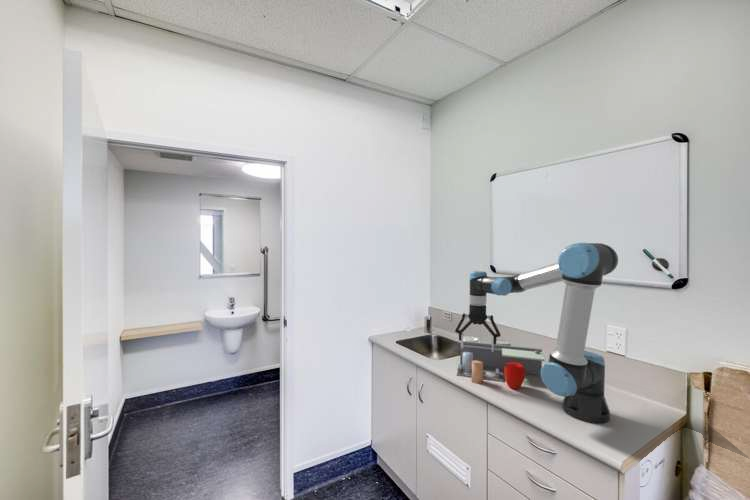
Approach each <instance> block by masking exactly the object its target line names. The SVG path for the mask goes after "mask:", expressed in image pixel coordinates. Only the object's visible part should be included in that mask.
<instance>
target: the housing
mask: <svg viewBox="0 0 750 500" xmlns="http://www.w3.org/2000/svg"><path fill="white" fill-rule="evenodd" d="M459 348H460V350H459V351H460V352H459V354H460V358H459V359H460V361H459V364H458V365H457V373H456V376H459V377H465V378H472V361H475V360H477V361H481V362H483V380H486V381H487V380H488V381H495V382H505V380H504V379H505V375H504V367H505V364H507V363H511V362H515V363H519V364H521V365H523V366H524V368H525V374H530V375H539V376H541V368H542V367H543V361H538V360H529V359H520V358H511V357H502V348H505V349H514V350H524V351H534V352H535V350H539V351H540V352H541V353H542V355H543V349H542V348H536V347H525V346H518V345H517V346H516V345H515V346H514V345H511V346H508V345H498V344H496V345H495V344H494V346H493V352H492V343H488V342H487V343H486V342H482V343H480V342H479V341H478V342H468V341H463V349H462V348H461V344H460V345H459ZM543 356H544V355H543Z"/></svg>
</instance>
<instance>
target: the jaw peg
mask: <svg viewBox="0 0 750 500" xmlns="http://www.w3.org/2000/svg"><path fill="white" fill-rule="evenodd" d="M483 380H484V379H483V362H481V361H477V360H475V361H472V377H471V382H472V383H474V384H479V385H481V384H483V383H484V381H483Z"/></svg>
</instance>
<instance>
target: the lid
mask: <svg viewBox="0 0 750 500" xmlns="http://www.w3.org/2000/svg"><path fill="white" fill-rule="evenodd" d="M542 354H543V352H542V353H541V352H540V351H539V350H535V352H534V351H524V350H514V349H505V348H502V357H511V358H520V359H529V360H538V361H542V362H545V361H546V359H545V357H544V355H542Z"/></svg>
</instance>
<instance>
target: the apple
mask: <svg viewBox="0 0 750 500" xmlns="http://www.w3.org/2000/svg"><path fill="white" fill-rule="evenodd" d="M503 375H504V379H505V382H506V385H507V386H508V387H509V389H512V390H513V389H519V388H521V387H522V386H523V383H524V381H525V379H526V373H525V368H524V366H523V365H521V364H519V363H515V362H511V363H507V364H505V367H504V370H503Z"/></svg>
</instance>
